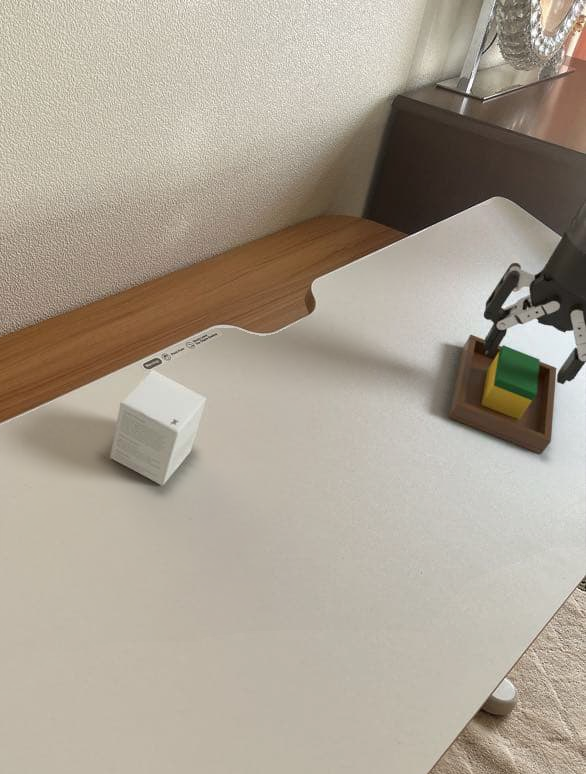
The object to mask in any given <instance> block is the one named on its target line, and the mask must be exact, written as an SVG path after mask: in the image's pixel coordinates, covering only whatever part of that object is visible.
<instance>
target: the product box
mask: <svg viewBox="0 0 586 774" xmlns="http://www.w3.org/2000/svg"><path fill="white" fill-rule="evenodd" d="M206 402H207V397H205V396H203V395H201V394H199V393H197V392H195V391H193V390H191V389H189V388H187V387H186V386H184V385H182V384H180V383H178V382H176V381H174V380H172V379H171V378H169V377H168V376H167V377H166V376H165V375H163V374H161V373H160V372H158V371H156V370H154V369H152V370H151V371H150V372H149V373H148V374H146V376H145V377H144V378H143V379H142V380H141V381H140V382H139V383H138V384H137V385H136V387H134V389H133V390H131V392H129V393H128V394H127V396H125V398H124V399H122V401H120V402H119V403H120V404H119V410H118V415H117V420H116V425H115V429H114V434H113V439H112V443H111V444H112V445H111V450H110V456H109V458H110V459H111V460H112V461H115V462H117V463H119V464H121V465H123V466H125V467H127V468H128V469H130V470H132V471H134V472H137V473H138V474H140V475H141V476H143V477H145V478H147V479H149V480H151V481H153V482H154V483H156V484H158V485H160V486H164V485H165V484H166V483H167V481H168V480H169V479H170V478H171V476H172V475H173V474H174V473H175V471H177V469H178V468H179V466H180V465H181V464H183V462H184V460H185V459H186V458H187V457H188V455H189V454H190V453H191V451H192V448H193V444H194V441H195V438H196V435H197V431H198V428H199V425H200V422H201V419H202V415H203V412H204V408H205V405H206Z"/></svg>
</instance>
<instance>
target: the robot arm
mask: <svg viewBox="0 0 586 774" xmlns="http://www.w3.org/2000/svg"><path fill="white" fill-rule="evenodd" d="M565 230H566V231H565V232H564V234H563V235H562V237H561V238H560V240H559V242H558V243H557V245H556V246H555V249H554V250H553V251H552V253H551V255H550V257H549V258H548V260H547V262H546V263H545V265H544V267H543V268H542V269H541V270H540V271H539V272H538V273H536V274H532V273H530V272H527V271H525V270H523V269H521V268H522V266H521V264H520V263H518V262H512V263H510V265H509V266H508V268H507V269H506V271H505V272H504V274H503V275H502V277H501V278H500V280H499V282H498V283H497V285H496V286H495V287H494V289H493V290H492V293H491V294H490V295H489V296H488V299H487V300H486V301H485V305H484V306H485V308H484V312H483V318H484V319H485V320H487V321H491V322H492V323H493V324H492V326H491V327H490V329H489V331H488V333H487V334H486V335H485V338H484V340H485V342H484V350H486V354H485V355H486V356H489V357H492V356H493V354H494V353H495V351H496V349H497V348H498V346H500V345H501V343H502V342H503V339H504V338H505V336H506V335H507V333H508V332H507V331H508V329H509V328H512V327H515V326H517V325H524V324H526V323H529V322H531V321H534V320H537V323H538V324H541V325H543V326H547V327H553V328H554V329H556V330H557V331H560V332H562V333H566V332H572V331H573V336H574V343H575V346H576V347H574V348H573V349H572V351H571V353H569V356H568V357H566V359H565V361H564V363H563V364H562V365H561V367H560V369H559V370H558V371H557V373H556V383H558V384H561V385H564V384H565V383H566V382H571V381H573V380H574V379H575V378H576V376H577V375H578V374H579V372H580V371H581V369H582V368H583V366H584V365H585V364H586V199H585V200H584V201H583V203H582V204H581V205H580V207H579V209H578V210H577V212H576V214H575V216H574V217H573V219H572V221H571V222H570V224H569V225H568V227H567V229H565ZM524 287H528V290H529V291H528V292H529V294H528V295H526V296H524V297H521V298H520V299H518V300H517V302H515V303H513V304H511V305H509V306H507V307H505V308H503V305H504V304H505V302H506V301H507V299H508V298H509V297H510V295H511V294H512V292H514V293H515V292H518V291H520V290H521V289H522V288H524Z"/></svg>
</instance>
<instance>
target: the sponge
mask: <svg viewBox="0 0 586 774" xmlns="http://www.w3.org/2000/svg"><path fill="white" fill-rule="evenodd" d="M501 346H502V348H501V349H500V351H499V352H498V354H497V356H496V357H495V359H494V360H493V362H492V364H491V365H490V367H489V369H488V370H487V374H486V380H485V386H484V392H483V398H482V403H481V405H483V406H485V407H488V408H490V409H493V410H496V411H498V412H501V413H503V414H506V415H508V416H511V417H513V418H516V419H519V418H520V417H521V416H522V414H523V413H524V411H525V410H526V408H527V407H528V405H529V404H530V403H531V401H532V400H533V398H534V397H535V395H536V392H537V383H538V373H539V363H540V362H541V359H540V358H537V357H534V356H532V355H529V354H527V353H524V352H522V351H519V350H518V349H515V348H511V347H509V346H506V345H503V344H502V345H501Z"/></svg>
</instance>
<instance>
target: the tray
mask: <svg viewBox="0 0 586 774" xmlns="http://www.w3.org/2000/svg"><path fill="white" fill-rule="evenodd" d="M484 342H485V338H481V337H478V336H476V335H474V334H470V335H469V336H468V338H467V340H466V342H465V343H464V345H463V347H462V351H461V356H460V361H459V365H458V369H457V370H458V372H457V376H456V380H455V385H454V390H453V395H452V401H451V405H450V408H449V409H450V410H449V414H448V419H451V420H453V421H456V422H458V423H461V424H463V425H466V426H468V427H470V428H473V429H476V430H479V431H481V432H484V433H487V434H489V435H491V436H494V437H496V438H499V439H502V440H504V441H507V442H509V443H512V444H514V445H517V446H519V447H522V448H524V449H526V450H528V451H531V452H534V453H537V454H539V455H542V454H543V453H544V451H546V449H547V447H548V446H549V445H550V443H551V441H552V432H553V431H552V430H553V418H554V404H555V394H556V393H555V392H556V390H555V389H556V381H557V367H555V366H553V365H550V364H549V363H548V364H547V363H545V362H542V361H540V363H539V373H538V383H537V392H536V395H535V397H534V398H533V400H532V401H531V403H530V404H529V405H528V407H527V408H526V410H525V411H524V413H523V414H522V416H521V417H520V418H519V419H516V418H513V417H511V416H508V415H506V414H503V413H501V412H498V411H496V410H493V409H490V408H488V407H485V406H483V405H481V403H482V398H483V392H484V386H485V380H486V374H487V370H488V369H489V367H490V365H491V364H492V362H493V360H494V359H495V357H496V356H497V354H498V352H499V351H500V349H501V348H502V346H503V345H499V346H498V348H497V349H496V351H495V353H494V354H493V356H492V357H489V356H486V355H485V354H486V350H484Z"/></svg>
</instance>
